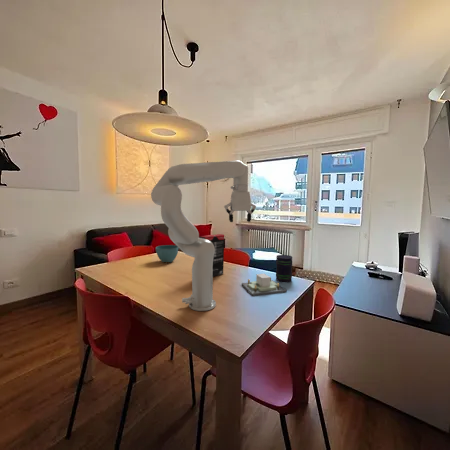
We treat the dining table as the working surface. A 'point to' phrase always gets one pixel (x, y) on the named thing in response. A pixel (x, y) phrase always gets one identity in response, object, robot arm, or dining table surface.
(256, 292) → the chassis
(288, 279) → the storage jar
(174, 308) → the dining table surface
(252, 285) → the board
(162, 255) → the teal bowl
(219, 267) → the graphics card box
